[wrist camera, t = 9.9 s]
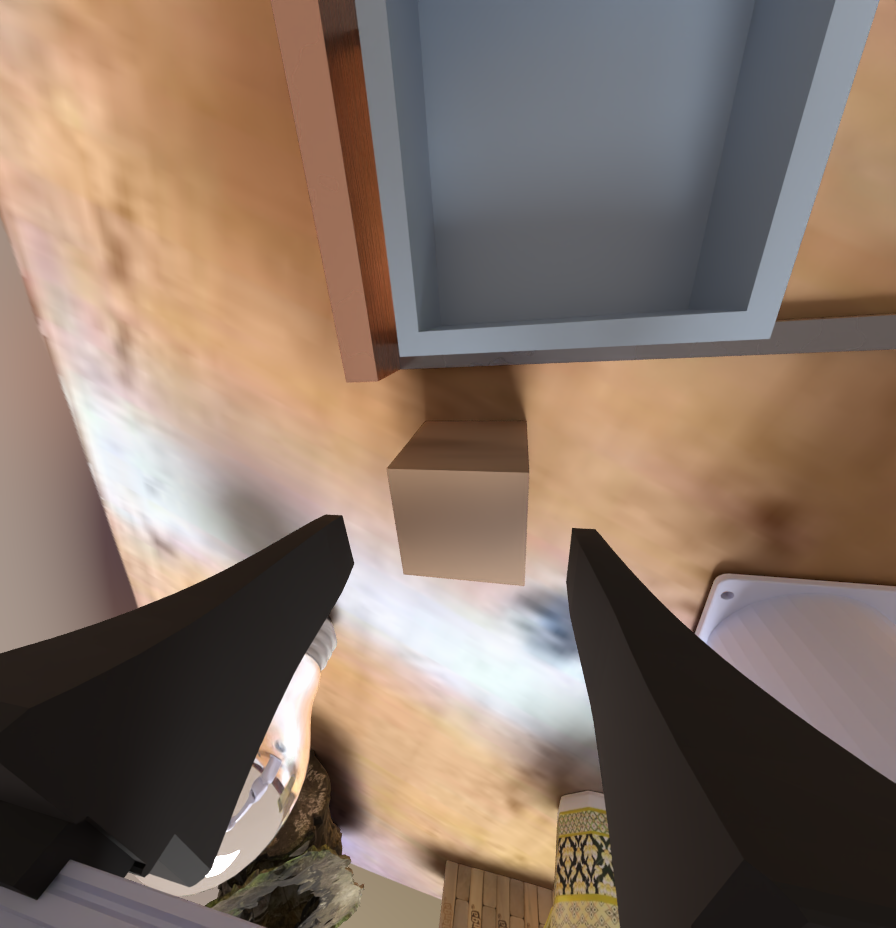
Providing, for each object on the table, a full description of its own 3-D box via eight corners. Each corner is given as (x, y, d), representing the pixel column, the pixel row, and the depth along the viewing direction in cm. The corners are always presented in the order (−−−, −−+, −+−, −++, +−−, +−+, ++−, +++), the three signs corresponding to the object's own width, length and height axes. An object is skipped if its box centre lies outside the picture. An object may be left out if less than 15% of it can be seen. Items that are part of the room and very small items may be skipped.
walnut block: (523, 508, 16) (524, 585, 12) (434, 504, 17) (403, 574, 13) (526, 420, 14) (529, 472, 10) (425, 420, 15) (386, 468, 11)
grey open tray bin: (679, 326, 11) (769, 338, 7) (437, 340, 13) (399, 356, 9) (764, -72, 8) (1039, -494, 4) (412, 22, 9) (330, -191, 5)
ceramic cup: (613, 767, 24) (668, 1041, 15) (697, 834, 25) (792, 1117, 16) (486, 797, 29) (472, 1007, 21) (562, 850, 31) (578, 1066, 22)
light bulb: (263, 578, 22) (29, 828, 12) (357, 583, 21) (183, 878, 10) (296, 648, 25) (132, 900, 14) (381, 656, 23) (266, 947, 13)
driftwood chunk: (334, 672, 34) (139, 765, 25) (388, 819, 26) (119, 1040, 17) (323, 791, 46) (188, 882, 38) (357, 918, 38) (192, 1076, 29)
